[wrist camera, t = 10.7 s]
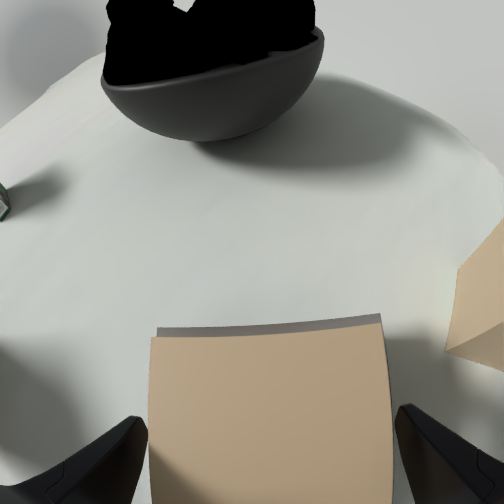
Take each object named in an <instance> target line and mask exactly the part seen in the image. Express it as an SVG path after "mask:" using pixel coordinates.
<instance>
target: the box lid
mask: <svg viewBox="0 0 504 504" xmlns="http://www.w3.org/2000/svg"><path fill="white" fill-rule="evenodd" d="M148 445H149V470H150V485H151V498H152V504H392V490H393V433H392V414H391V400H390V389H389V379H388V370H387V362H386V354H385V347H384V340H383V334H382V328H381V323H375V324H368V325H361V326H353V327H345V328H337V329H328V330H319V331H309V332H298V333H285V334H271V335H255V336H232V337H151V350H150V367H149V394H148Z"/></svg>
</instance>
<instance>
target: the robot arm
mask: <svg viewBox="0 0 504 504" xmlns="http://www.w3.org/2000/svg"><path fill="white" fill-rule="evenodd" d="M394 424H395V430H396V434H397V439H398V444H399V449H400V454H401V459H402V462H403V466H404V469H405V472H406V475H407V478H408V481H409V484H410V487H411V491H412V494H413V497H414V501H415V504H504V463H503V462H501V461H499V460H497V459H495V458H493V457H491V456H490V455H488V454H486V453H485V452H483V451H482V450H480V449H477V447H475V446H474V445H472V444H471V443H469V442H468V441H466V440H465V439H463V438H462V437H460V436H459V435H457V434H456V433H454V432H453V431H451V430H450V429H448V428H447V427H445V426H444V425H442V424H441V423H439V422H438V421H436V420H435V419H433V418H432V417H430V416H429V415H427V414H426V413H425V412H423V411H422V410H420V409H419V408H417V407H416V406H414V405H413V404H411V403H408V404H404V405H401V406H400V407H399V409H398V412H397V415H396V418H395V423H394ZM147 442H148V429H147V427H146V425H145V423H144V421H143V419H142V418H141V417H138V416H129V417H127V418H126V419H125V420H123V421H122V422H120V423H119V424H118V425H116V426H115V427H113V428H112V429H111V430H109V431H108V432H106V433H105V434H103V435H102V436H100V437H99V438H98V439H96V440H95V441H93V442H92V443H90V444H89V445H87V446H86V447H84V448H83V449H81V450H80V451H78V452H77V453H75V454H74V455H72V456H70V457H69V458H67V459H66V460H65V461H63V462H61V463H59V464H58V465H56V466H54V467H53V468H51V469H49V470H48V471H46V472H44V473H42V474H40V475H37V476H35V477H33V478H31V479H28V480H26V481H24V482H22V483H19V484H16V485H12V486H3V485H0V504H131V502H132V499H133V496H134V493H135V489H136V486H137V483H138V480H139V477H140V474H141V471H142V467H143V462H144V457H145V452H146V447H147Z"/></svg>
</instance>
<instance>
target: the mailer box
mask: <svg viewBox="0 0 504 504" xmlns="http://www.w3.org/2000/svg"><path fill="white" fill-rule="evenodd" d="M445 352H448V353H451V354H454V355H457V356H460V357H462V358H465V359H468V360H471V361H474V362H477V363H480V364H483V365H486V366H489V367H492V368H495V369H498V370H501V371H504V218H503V219H502V220H501V222H500V223H499V224H498V225H497V226H496V228H495V229H494V230H493V231H492V232H491V234H490V235H489V236H488V237H487V238H486V239H485V241H484V242H483V243H482V244H481V245H480V246H479V247H478V249H477V250H476V251H475V252H474V253H473V254H472V255H471V256H470V257H469V258H468V259H467V260H466V261H465V263H464V264H463V265H462V266H461V267H460V268H459V269H458V275H457V285H456V293H455V300H454V307H453V313H452V319H451V324H450V330H449V335H448V339H447V344H446V348H445Z"/></svg>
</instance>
